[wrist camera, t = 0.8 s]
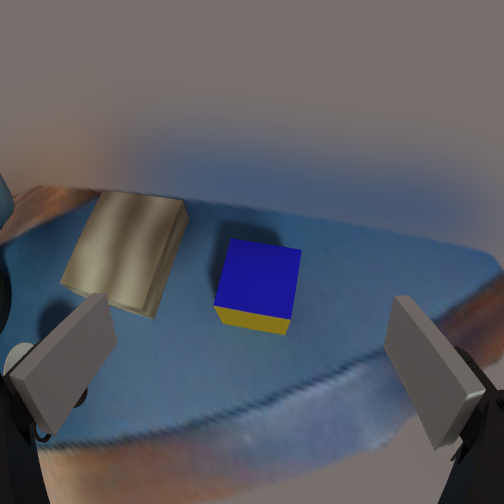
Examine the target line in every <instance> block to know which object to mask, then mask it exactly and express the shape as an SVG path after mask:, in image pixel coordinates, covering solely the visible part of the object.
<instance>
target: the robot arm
mask: <svg viewBox="0 0 504 504" xmlns="http://www.w3.org/2000/svg"><path fill="white" fill-rule="evenodd" d="M14 207H15V204H14V200H13V197H12V195H11V193H10V191H9V189H8V187H7V185H6V183H5V181H4V179H3V178H2V176H1V174H0V230H1V229H2V227H3V225H4V224H5V222H6V221H7V220H8V219H9V218H10V216H11V215H12V214H13V212H14ZM10 303H11V290H10V284H9V281H8V279H7V277H6V275H5V274H4V273H3V272H2V271H1V270H0V334H1V332H2V330H3V328H4V326H5V324H6V321H7V318H8V314H9V310H10ZM117 343H118V341H117V337H116V334H115V330H114V326H113V322H112V317H111V313H110V309H109V304H108V300H107V295H106V294H104V293H92V294H91V295H90V296H89V297H88V298H87V299H86V300H85V301H84V302H83V303H81V304H80V305H79V306H78V307H77V308H76V309H75V310H74V311H73V312H72V313H71V314H70V315H69V316H67V317H66V318H65V319H64V320H63V321H62V322H61V323H60V324H59V325H58V326H57V327H56V328H55V329H54V330H53V331H52V332H51V333H50V334H49V335H48V336H47V337H46V338H45V339H44V340H42V341H40V342H38V343H37V344H35V345H33V346H32V347H31V348H30V349H29V350H28V351H27V354H24V355H23V356H22V357H21V359H19V361H18V362H17V363H16V364H15V365H14V366H13V367H12V368H11V369H10V370H9V371H8V372H7V373H6V374H5V375H4V376H3V377H2V375H1V373H0V504H50V501H49V498H48V495H47V491H46V488H45V484H44V480H43V476H42V472H41V467H40V463H39V458H38V453H37V448H36V443H35V437H34V431H33V429H32V427H31V426H30V425H31V423H32V422H33V421H35V423H36V424H37V426H38V427H39V429H40V430H41V431H43V432H45V433H48V434H51V435H53V436H56V434H57V432H58V431H59V429H60V428H61V426H62V425H63V423H64V421H65V420H66V418H67V417H68V415H69V414H70V412H71V411H72V409H73V407H74V406H75V404H76V403H77V401H78V400H79V398H80V397H81V395H82V394H83V392H84V391H85V389H86V388H87V386H88V385H89V383H90V382H91V380H92V379H93V377H94V376H95V375H96V373H97V372H98V370H99V369H100V367H101V366H102V364H103V363H104V362H105V360H106V359H107V357H108V356H109V354H110V353H111V352H112V350H113V349H114V347H115V346H116V344H117ZM383 347H384V349H385V351H386V353H387V355H388V357H389V358H390V360H391V362H392V364H393V366H394V368H395V370H396V372H397V374H398V376H399V378H400V380H401V382H402V383H403V385H404V387H405V389H406V391H407V393H408V395H409V397H410V399H411V401H412V404H413V406H414V408H415V410H416V412H417V414H418V416H419V418H420V420H421V422H422V424H423V427H424V428H425V431H426V433H427V435H428V437H429V440H430V442H431V444H432V446H433V449H434V451H438V450H441V449H444V448H447V447H451V446H453V444H454V443H455V441H456V440H457V438H458V436H459V435H460V437H461V439H462V440H463V443H462V444H461V446H460V447H459V449H458V450H457V451H456V453H455V454H454V456H453V457H452V459H451V461H453V460H454V459H455V458H456V459H455V462H454V465H453V468H452V470H451V473H450V475H449V478H448V480H447V483H446V485H445V488H444V490H443V492H442V495H441V497H440V499H439V502H438V504H504V390H497V389H496V388H495V386H494V385H493V384H492V382H491V381H490V380H489V379H488V378H487V376H486V375H485V374H484V372H483V371H482V370H481V369H479V366H478V365H477V364H476V362H474V360H473V359H472V357H471V356H470V355H469V354H468V353H467V352H466V351H464V350H463V349H461V348H460V347H458V346H456V347H453V346H452V345H451V344H450V343H449V341H448V340H447V339H446V338H445V337H444V335H443V334H442V333H441V332H440V331H439V329H438V328H437V327H436V326H435V325H434V324H433V322H432V321H431V320H430V319H429V318H428V317H427V315H426V314H425V313H424V312H423V311H422V310H421V309H420V307H419V306H418V305H417V304H416V303H415V302H414V301H413V300H412V299H411V297H410V296H409V295H404V296H394V299H393V304H392V309H391V314H390V319H389V324H388V328H387V333H386V337H385V341H384V346H383Z"/></svg>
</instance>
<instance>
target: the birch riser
mask: <svg viewBox="0 0 504 504" xmlns="http://www.w3.org/2000/svg"><path fill="white" fill-rule="evenodd" d="M188 221H189V216H188V213H187V211H186V208H185V205H184V203H183V200H177V199H170V198H162V197H155V196H147V195H139V194H131V193H123V192H115V191H106V190H103V192H102V194H101V196H100V198H99V200H98V201H97V203H96V205H95V207H94V209H93V211H92V213H91V215H90V217H89V219H88V221H87V223H86V225H85V227H84V229H83V231H82V233H81V235H80V238H79V240H78V242H77V244H76V246H75V249H74V251H73V253H72V255H71V258H70V260H69V262H68V265H67V267H66V269H65V272H64V274H63V277H62V279H61V282H60V283H61V284H62V285H64V286H65V287H66V288H68V289H69V290H71V291H72V292H74V293H75V294H77V295H80V296H83V297H85V298H88V297H89V296H90V295H91V294H92V293H104V294H106V295H107V300H108V304H109V306H112V307H115V308H119V309H122V310H125V311H128V312H131V313H135V314H138V315H141V316H145V317H148V318H151V319H155V316H156V313H157V310H158V306H159V303H160V300H161V297H162V294H163V291H164V288H165V285H166V282H167V279H168V276H169V273H170V270H171V268H172V265H173V262H174V259H175V256H176V253H177V250H178V248H179V245H180V242H181V239H182V237H183V234H184V231H185V229H186V226H187V223H188Z"/></svg>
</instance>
